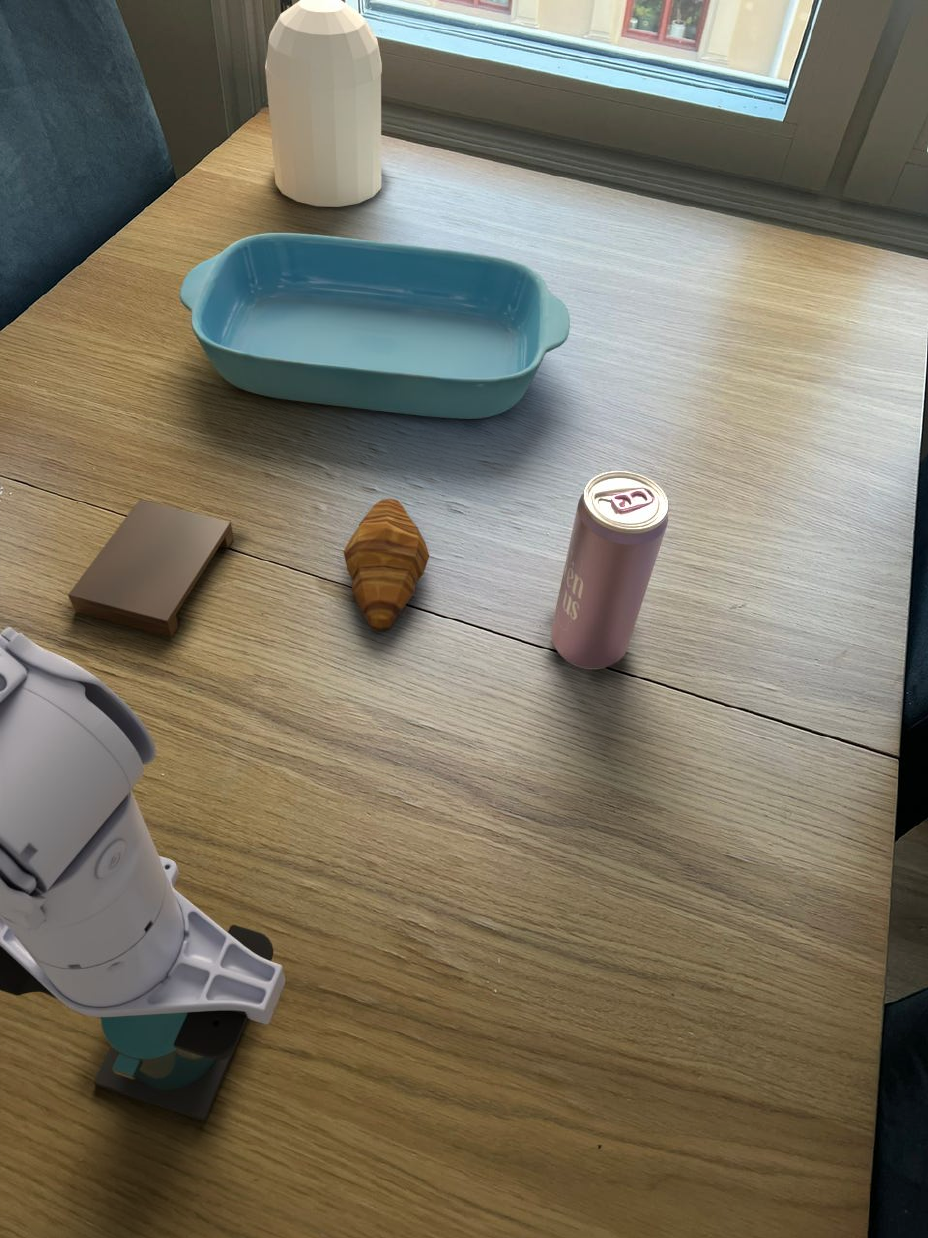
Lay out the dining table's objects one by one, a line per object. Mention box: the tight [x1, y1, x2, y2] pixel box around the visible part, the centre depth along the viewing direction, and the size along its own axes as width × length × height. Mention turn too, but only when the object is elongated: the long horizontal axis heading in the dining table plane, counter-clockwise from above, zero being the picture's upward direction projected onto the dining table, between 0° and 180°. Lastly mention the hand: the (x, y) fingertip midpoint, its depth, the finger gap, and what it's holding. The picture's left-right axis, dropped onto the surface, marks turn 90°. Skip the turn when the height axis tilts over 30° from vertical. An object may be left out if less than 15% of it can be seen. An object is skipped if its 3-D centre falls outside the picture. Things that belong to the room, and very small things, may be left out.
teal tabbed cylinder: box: [100, 1012, 216, 1090], centre depth 49 cm, size 5×8×6 cm
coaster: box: [92, 1018, 249, 1122], centre depth 51 cm, size 6×6×1 cm
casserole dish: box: [179, 232, 571, 420], centre depth 91 cm, size 37×22×7 cm, turn 86°
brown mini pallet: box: [67, 498, 234, 638], centre depth 73 cm, size 8×11×2 cm
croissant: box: [343, 498, 430, 632], centre depth 73 cm, size 14×7×5 cm, turn 0°
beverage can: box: [550, 470, 670, 670], centre depth 66 cm, size 6×6×15 cm
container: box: [264, 0, 383, 208], centre depth 110 cm, size 13×13×20 cm
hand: (155, 1006), depth 47 cm, fingers open, 7 cm apart
